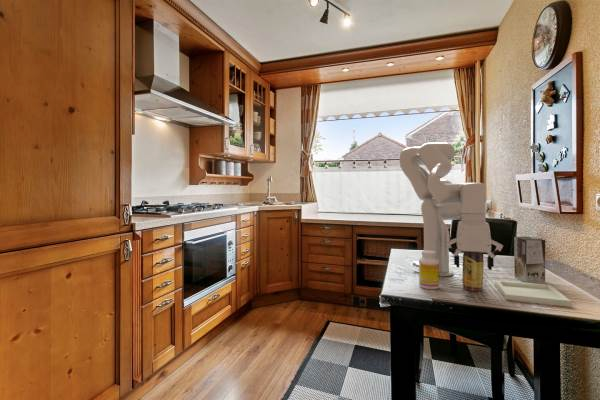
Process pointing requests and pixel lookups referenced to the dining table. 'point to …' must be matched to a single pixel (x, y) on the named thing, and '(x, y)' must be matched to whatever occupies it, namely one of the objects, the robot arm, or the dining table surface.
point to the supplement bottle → (429, 270)
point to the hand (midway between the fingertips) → (473, 267)
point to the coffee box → (529, 259)
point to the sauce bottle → (473, 271)
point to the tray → (531, 293)
